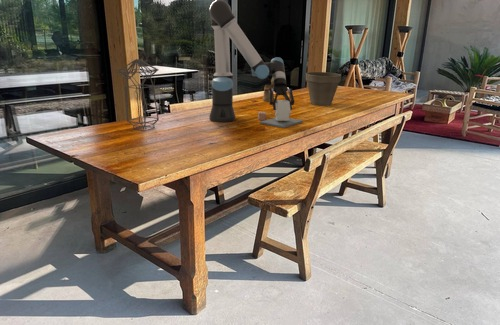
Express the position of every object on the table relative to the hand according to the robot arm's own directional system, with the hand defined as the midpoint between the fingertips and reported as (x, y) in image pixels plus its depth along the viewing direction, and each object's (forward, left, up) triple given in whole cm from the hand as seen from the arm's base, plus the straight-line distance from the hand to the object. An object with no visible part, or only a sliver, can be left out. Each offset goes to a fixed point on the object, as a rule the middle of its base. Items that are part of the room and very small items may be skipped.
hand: (283, 114), depth 217 cm
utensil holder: (+60, +53, -6) cm, 80 cm away
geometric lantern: (-60, +48, -6) cm, 76 cm away
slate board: (+2, +3, -6) cm, 7 cm away
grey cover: (+2, +3, -3) cm, 5 cm away
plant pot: (+73, +17, -6) cm, 76 cm away
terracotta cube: (+2, +17, -6) cm, 18 cm away
